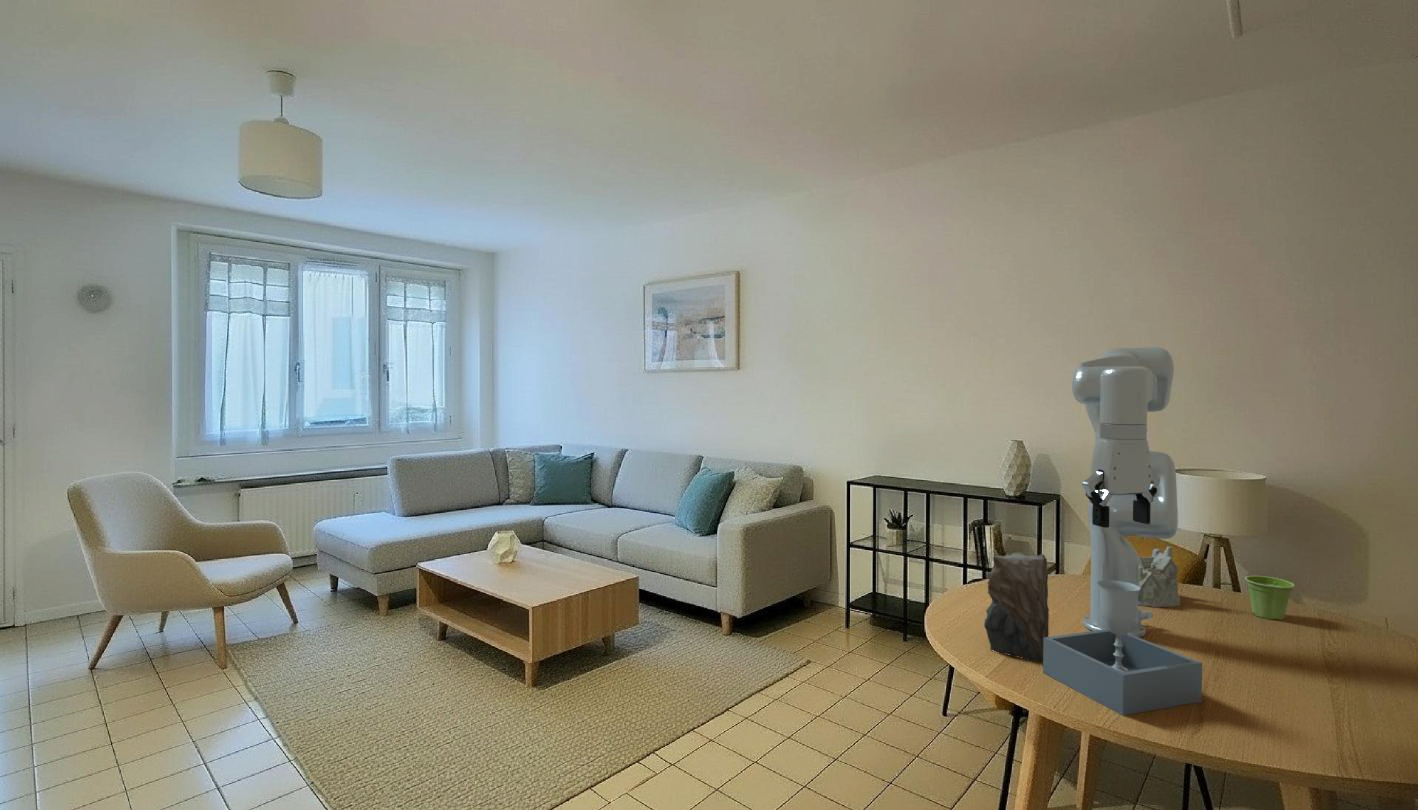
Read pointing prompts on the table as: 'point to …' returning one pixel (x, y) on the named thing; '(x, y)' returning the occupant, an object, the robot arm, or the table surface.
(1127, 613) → the chalice
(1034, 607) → the grey faceted rock
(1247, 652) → the table surface
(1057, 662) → the bin
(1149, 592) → the ceramic cottage
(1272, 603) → the plant pot
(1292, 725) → the table surface
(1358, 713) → the table surface
